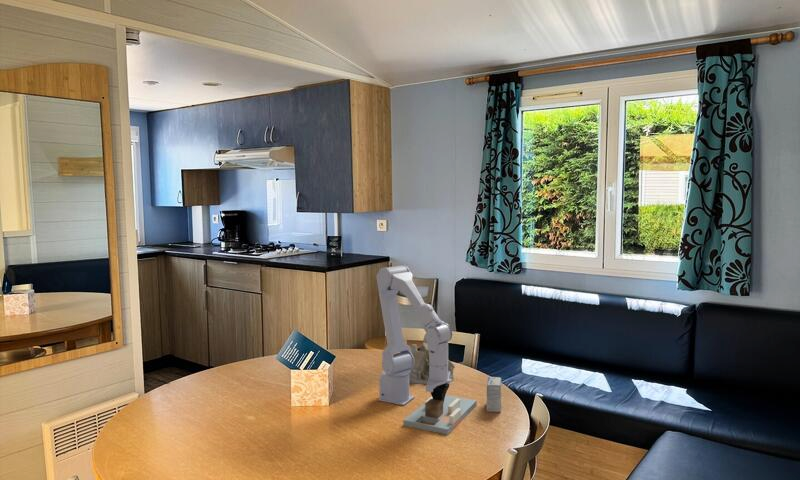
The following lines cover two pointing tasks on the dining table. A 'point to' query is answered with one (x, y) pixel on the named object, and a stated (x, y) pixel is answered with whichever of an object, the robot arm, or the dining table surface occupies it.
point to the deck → (451, 417)
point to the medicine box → (494, 394)
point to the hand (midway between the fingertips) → (438, 407)
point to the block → (434, 408)
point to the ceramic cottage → (423, 364)
